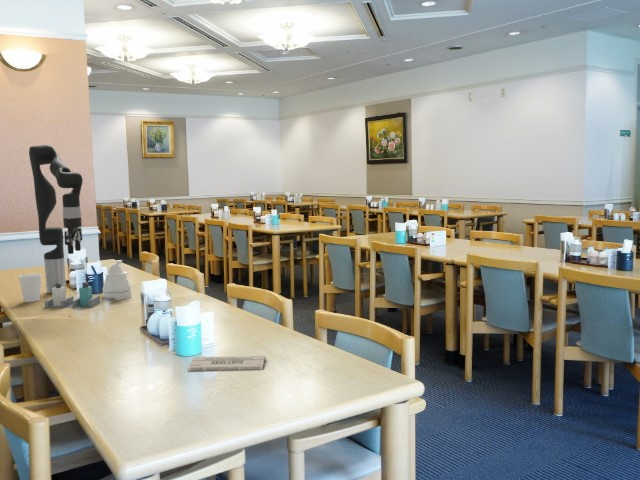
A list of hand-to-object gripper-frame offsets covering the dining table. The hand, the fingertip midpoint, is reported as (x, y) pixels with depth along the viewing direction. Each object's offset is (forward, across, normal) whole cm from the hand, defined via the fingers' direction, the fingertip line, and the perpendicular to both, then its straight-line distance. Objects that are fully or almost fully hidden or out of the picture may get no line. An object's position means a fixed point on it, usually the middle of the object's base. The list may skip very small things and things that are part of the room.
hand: (74, 252), depth 262 cm
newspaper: (+21, +95, +80) cm, 126 cm away
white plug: (+23, +8, -5) cm, 25 cm away
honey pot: (+24, -12, +14) cm, 31 cm away
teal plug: (+23, +8, +7) cm, 25 cm away
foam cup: (+25, -5, -23) cm, 34 cm away
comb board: (+24, +8, +1) cm, 25 cm away
